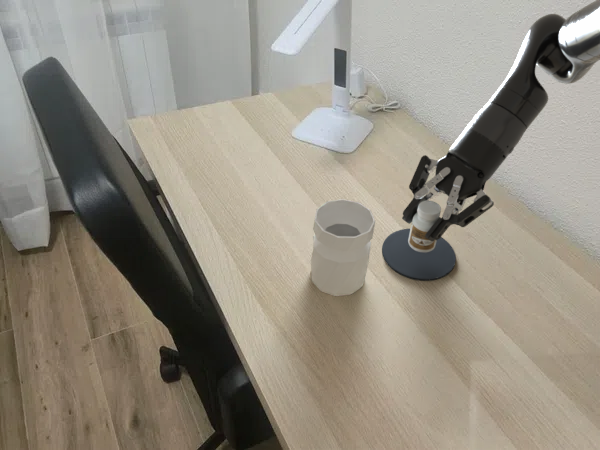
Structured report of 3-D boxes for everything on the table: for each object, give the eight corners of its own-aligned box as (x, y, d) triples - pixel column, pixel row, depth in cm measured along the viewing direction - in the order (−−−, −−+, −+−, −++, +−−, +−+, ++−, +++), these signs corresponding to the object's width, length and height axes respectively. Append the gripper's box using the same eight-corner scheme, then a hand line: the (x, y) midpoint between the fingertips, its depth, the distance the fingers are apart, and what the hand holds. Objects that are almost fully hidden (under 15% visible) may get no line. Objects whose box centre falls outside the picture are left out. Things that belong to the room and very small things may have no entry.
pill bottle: (406, 250, 88) (414, 213, 83) (409, 233, 91) (416, 196, 86) (434, 255, 87) (443, 218, 82) (435, 237, 91) (445, 200, 85)
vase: (299, 269, 87) (301, 211, 79) (343, 249, 91) (350, 192, 83) (331, 305, 82) (337, 246, 74) (377, 282, 86) (387, 224, 78)
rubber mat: (443, 228, 96) (443, 226, 95) (465, 278, 87) (465, 277, 86) (375, 231, 95) (375, 229, 94) (390, 282, 86) (391, 281, 85)
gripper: (443, 110, 85) (375, 199, 87) (520, 153, 76) (442, 251, 79) (459, 130, 91) (395, 212, 93) (532, 172, 82) (459, 262, 84)
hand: (417, 229), depth 86 cm, fingers closed on pill bottle, 4 cm apart
